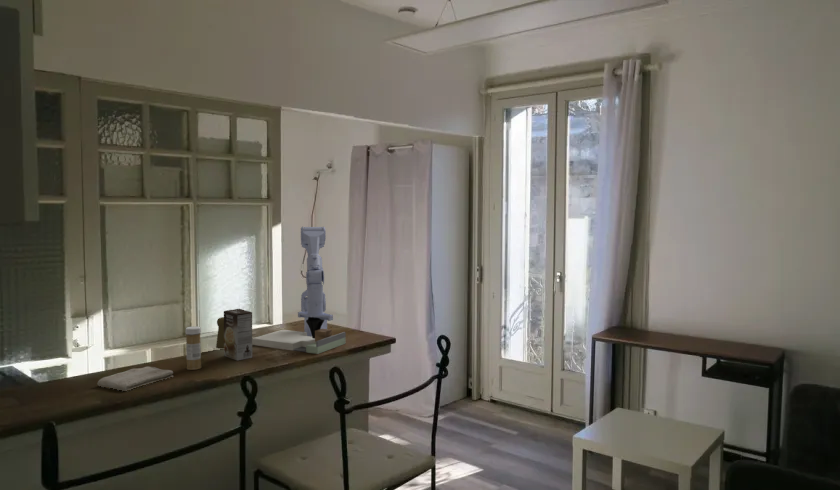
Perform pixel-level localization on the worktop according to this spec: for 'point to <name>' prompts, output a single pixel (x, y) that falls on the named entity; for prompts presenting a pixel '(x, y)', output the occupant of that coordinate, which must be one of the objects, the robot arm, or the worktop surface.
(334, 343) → the trap deck
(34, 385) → the worktop surface
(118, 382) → the washcloth
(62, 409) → the worktop surface
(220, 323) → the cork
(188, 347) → the sprinkles bottle
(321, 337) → the walnut block
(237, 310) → the coffee box
